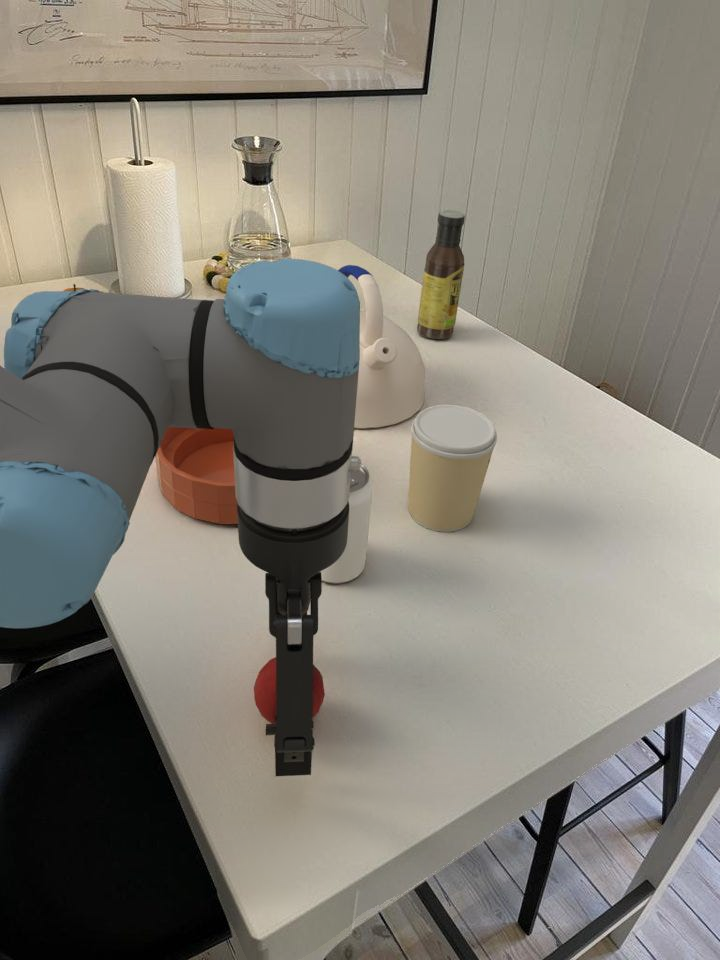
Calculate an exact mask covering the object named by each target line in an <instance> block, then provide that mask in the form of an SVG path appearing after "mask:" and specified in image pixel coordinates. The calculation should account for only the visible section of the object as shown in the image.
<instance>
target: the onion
mask: <svg viewBox="0 0 720 960" xmlns="http://www.w3.org/2000/svg"><path fill="white" fill-rule="evenodd" d="M323 677H324V676H323V675H322V672H321V671H320V669H318V667H316V665H315V664H314V663H313V718H314V717H316V716H317V714H319V712H320V710H321V707H322V706H323V703H324V700H325V697H326V693H325V692H326V691H325V686H324V679H323ZM253 694H254V695H253V698H254V704H255V706H256V708H257V710H258V712H259V715H261V717H262V718H264V719H265V720H266V721H267V722H268V723H269V724H274V722H275V716H276V656H274V657H272V658H270V659H269V660H267V662H266V663H265V664H264V665H263V666H262V667H261V668H260V670H259V671H258V674H257V676H256V679H255V682H254V685H253Z"/></svg>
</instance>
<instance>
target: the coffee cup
mask: <svg viewBox="0 0 720 960" xmlns="http://www.w3.org/2000/svg"><path fill="white" fill-rule="evenodd" d="M410 432H411V433H410V434H411V443H410V459H409V460H410V461H409V478H408V479H409V480H408V500H407V501H408V502H407V505H408V507H407V508H408V512H409V514H410V516H411V518H412V519H413V520H414V521H415V522H416V523H417V524H418V525H420V526H421V527H424V528H426V529H428V530H431V531H434V532H435V531H436V532H442V533H446V532H447V533H449V532H456V531H459V530H462V529H464V528H466V527H467V526H468V525H470V523H471V522H472V520H473V517H474V516H475V512H476V509H477V505H478V502H479V498H480V495H481V492H482V488H483V486H484V482H485V478H486V475H487V472H488V468H489V465H490V463H491V459H492V455H493V452H494V448H495V447H496V444H497V440H498V433H497V430H496V427H495V425H494V423H493V421H492V420H491V419H490V418H489V417H487V416H486V415H485V414H484V413H482V412H480V411H479V410H476V409H473V408H470V407H467V406H464V405H457V404H437V405H432V406H428V407H426V408H424V409H422V410H421V411H420V412H419V413H417V415H416V416H415V418H414V419H413V420H412V423H411V428H410Z"/></svg>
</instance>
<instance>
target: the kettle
mask: <svg viewBox="0 0 720 960" xmlns="http://www.w3.org/2000/svg"><path fill="white" fill-rule="evenodd" d="M337 270H338V271H339V272H341V273H342V274H344V275H345V276H346V277H347V278H348V279H349V277H350V276H353V277H354V278H355V280H356V281H357V282H358V283H359V286H360V288H361V293H362V296H363V300H364V307H365V309H364V310H360V360H359V373H358V385H357V398H356V410H355V423H354V429H358V430H362V429H365V430H366V429H380V428H385V427H389V426H394V425H396V424H399V423H401V422H404V421H405V420H408V419H410V418H411V417H412V416H413V415H415V414H416V413H417V412H418V411H420V410H421V408H422V407H423V404H424V403H425V379H426V377H425V375H426V374H425V372H426V371H425V370H426V367H425V365H424V364H425V363H424V361H423V358H422V355H421V352H420V350H419V348H418V346H417V345H416V343H415V341H414V340H413V339H412V337H411V336H410V335H409V333H408V332H407V331H406V330H405V329H404V328H403V327H401V326H400V325H399V324H397V323H396V322H394V321H393V320H392V319H390V318H389V317H387V316H385V315H384V306H383V300H382V294H381V291H380V288H379V285H378V283H377V281H376V279H375V278H374V275H373V274H372V273H370V272H369V271H368V270H367V269H365V268H364V267H361V266H359V265H353V264H347V265H344V266H341V267H340V268H339V269H337Z"/></svg>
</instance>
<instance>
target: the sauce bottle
mask: <svg viewBox="0 0 720 960" xmlns="http://www.w3.org/2000/svg"><path fill="white" fill-rule="evenodd" d="M465 217H466V216H465V213H462V212H461V211H458V210H452V209H443V210H441V211H439V212H438V215H437V224H438V225H437V233H436V237H435V243H434V244H433V245H432V247H431V248H430V249H429V251H428V252H427V254H426V258H425V265H424V270H423V277H422V284H421V292H420V299H419V306H418V313H417V314H418V316H417V327H416V328H417V332H418V334H419V335H420V336H422V337H424V338H428V339H432V340H444V339H448V338H449V337H451V336H452V335H453V334H454V329H455V328H454V327H455V326H456V321H457V314H458V309H459V308H458V307H459V301H460V295H461V291H462V290H461V288H462V283H463V278H464V277H463V276H464V270H465V255H464V253H463V251H462V249H461V246H460V244H461V237H462V231H463V226H464V224H465Z"/></svg>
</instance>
